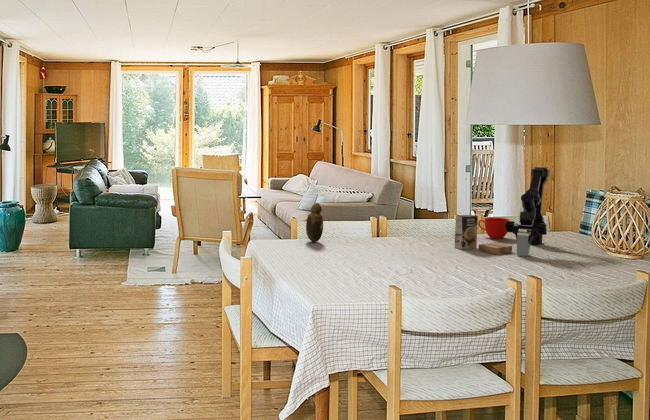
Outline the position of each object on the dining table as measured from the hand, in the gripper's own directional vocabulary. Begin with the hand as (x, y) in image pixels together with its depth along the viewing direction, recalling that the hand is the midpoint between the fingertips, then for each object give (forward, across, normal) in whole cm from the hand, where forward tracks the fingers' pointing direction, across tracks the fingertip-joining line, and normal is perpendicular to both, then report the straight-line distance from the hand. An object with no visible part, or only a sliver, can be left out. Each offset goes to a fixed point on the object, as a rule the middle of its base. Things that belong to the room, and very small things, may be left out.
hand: (523, 242), depth 347 cm
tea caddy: (+4, 0, +6) cm, 7 cm away
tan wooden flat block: (+1, -14, +9) cm, 16 cm away
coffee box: (-1, -29, +11) cm, 31 cm away
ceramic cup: (-26, -24, +36) cm, 50 cm away
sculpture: (+13, -102, -3) cm, 103 cm away
